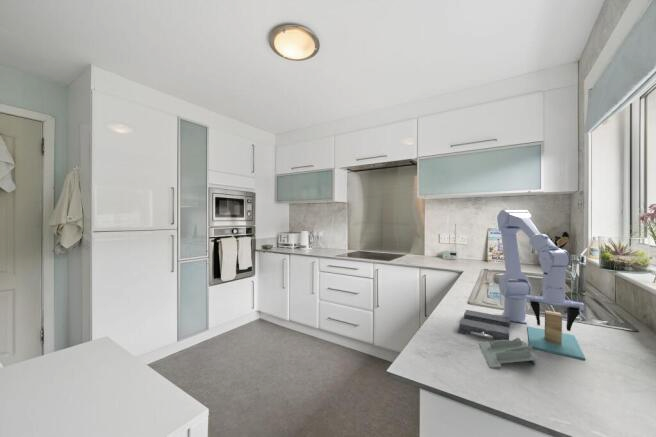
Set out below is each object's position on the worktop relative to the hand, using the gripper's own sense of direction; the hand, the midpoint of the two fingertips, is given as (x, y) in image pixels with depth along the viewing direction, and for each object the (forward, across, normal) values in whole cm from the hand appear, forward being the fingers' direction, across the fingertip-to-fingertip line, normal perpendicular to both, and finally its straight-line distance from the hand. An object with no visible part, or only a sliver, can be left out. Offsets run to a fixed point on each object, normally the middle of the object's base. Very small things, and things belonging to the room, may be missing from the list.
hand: (553, 327), depth 90 cm
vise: (+5, -20, 0) cm, 20 cm away
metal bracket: (+6, -12, -20) cm, 24 cm away
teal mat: (+5, 0, 0) cm, 5 cm away
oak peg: (+4, 0, 0) cm, 4 cm away
